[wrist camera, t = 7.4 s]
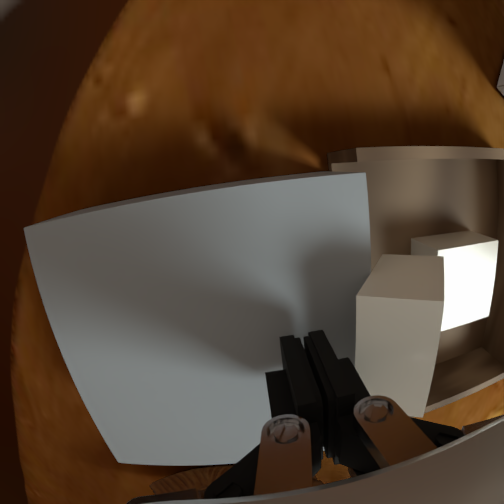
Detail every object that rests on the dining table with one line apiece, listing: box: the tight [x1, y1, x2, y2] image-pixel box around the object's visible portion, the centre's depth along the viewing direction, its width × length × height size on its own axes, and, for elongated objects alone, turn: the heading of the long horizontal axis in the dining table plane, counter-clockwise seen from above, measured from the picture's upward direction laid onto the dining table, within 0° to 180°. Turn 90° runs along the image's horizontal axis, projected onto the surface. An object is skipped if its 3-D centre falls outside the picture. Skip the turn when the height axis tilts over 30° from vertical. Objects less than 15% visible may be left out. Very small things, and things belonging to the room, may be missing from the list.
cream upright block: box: [355, 254, 444, 417], centre depth 12 cm, size 5×5×3 cm
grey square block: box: [24, 171, 371, 466], centre depth 16 cm, size 14×14×6 cm
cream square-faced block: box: [411, 230, 498, 331], centre depth 17 cm, size 5×5×3 cm
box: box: [327, 146, 504, 418], centre depth 16 cm, size 13×16×4 cm
